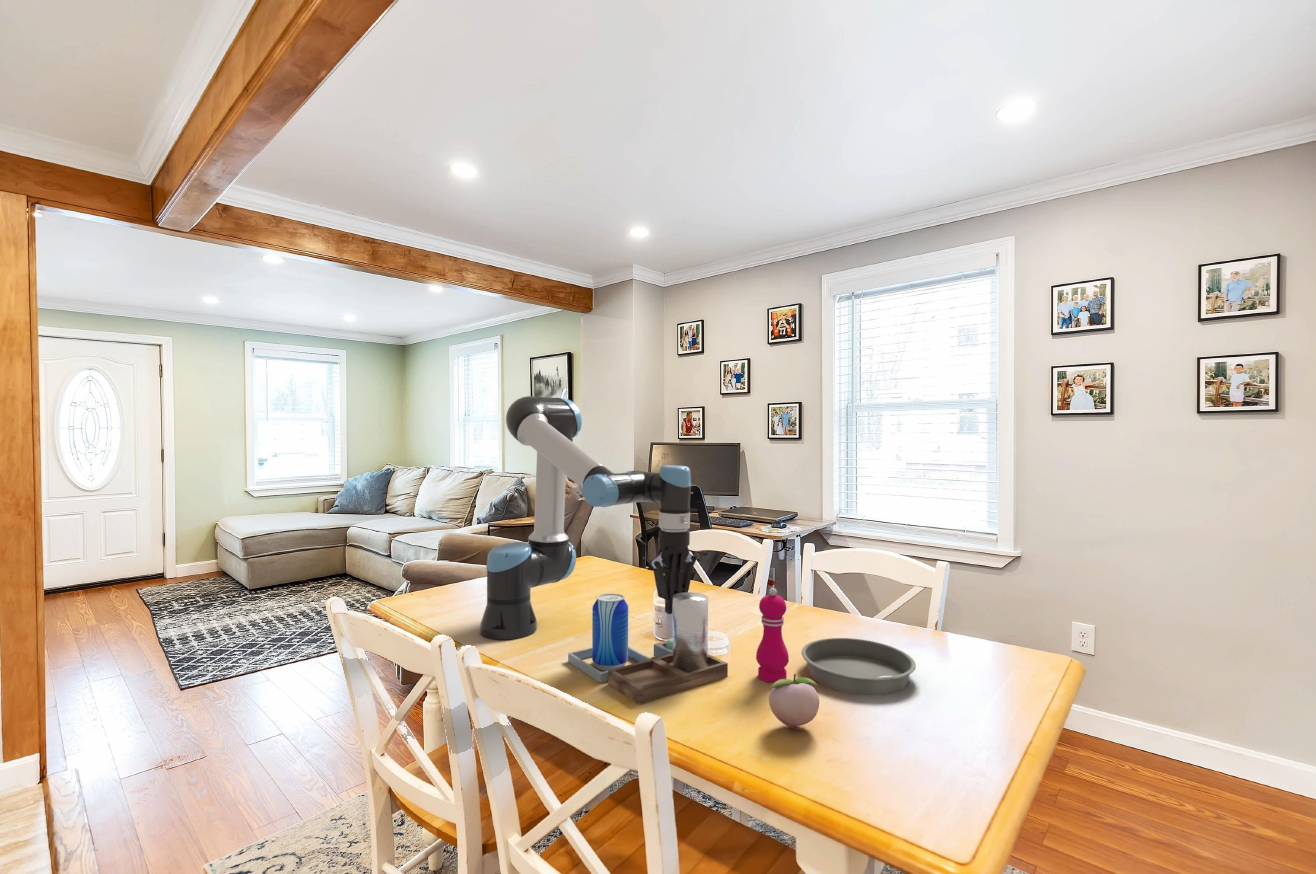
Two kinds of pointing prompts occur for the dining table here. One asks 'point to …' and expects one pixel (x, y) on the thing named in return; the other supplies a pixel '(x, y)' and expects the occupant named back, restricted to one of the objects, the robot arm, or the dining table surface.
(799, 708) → the decorative fruit
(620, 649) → the beer can
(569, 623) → the dining table surface
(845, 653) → the cake pan
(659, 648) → the button housing
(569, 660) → the frame
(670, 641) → the button
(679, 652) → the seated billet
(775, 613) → the pepper mill
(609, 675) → the wooden divided tray
